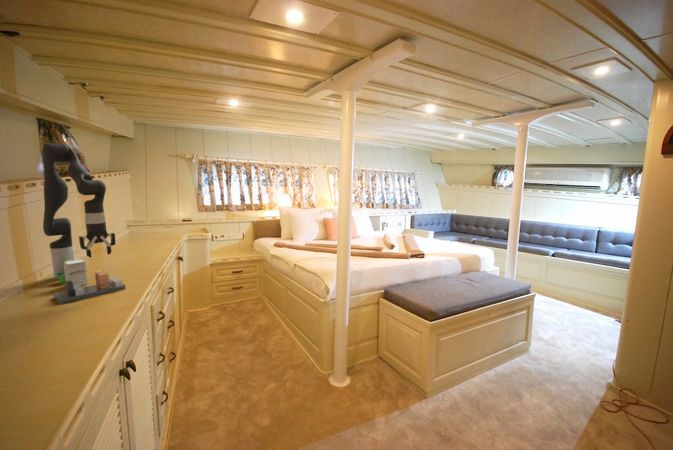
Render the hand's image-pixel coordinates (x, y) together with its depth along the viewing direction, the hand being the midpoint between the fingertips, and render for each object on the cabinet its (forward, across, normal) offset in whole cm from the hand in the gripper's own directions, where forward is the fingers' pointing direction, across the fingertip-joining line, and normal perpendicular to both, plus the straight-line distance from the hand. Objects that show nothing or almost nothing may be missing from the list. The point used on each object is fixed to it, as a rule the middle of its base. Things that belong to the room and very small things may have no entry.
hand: (99, 255), depth 147 cm
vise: (+18, -6, 0) cm, 19 cm away
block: (+16, 0, 0) cm, 16 cm away
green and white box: (+18, -6, +31) cm, 36 cm away
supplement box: (+18, -6, +20) cm, 28 cm away
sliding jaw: (+16, -11, 0) cm, 19 cm away
